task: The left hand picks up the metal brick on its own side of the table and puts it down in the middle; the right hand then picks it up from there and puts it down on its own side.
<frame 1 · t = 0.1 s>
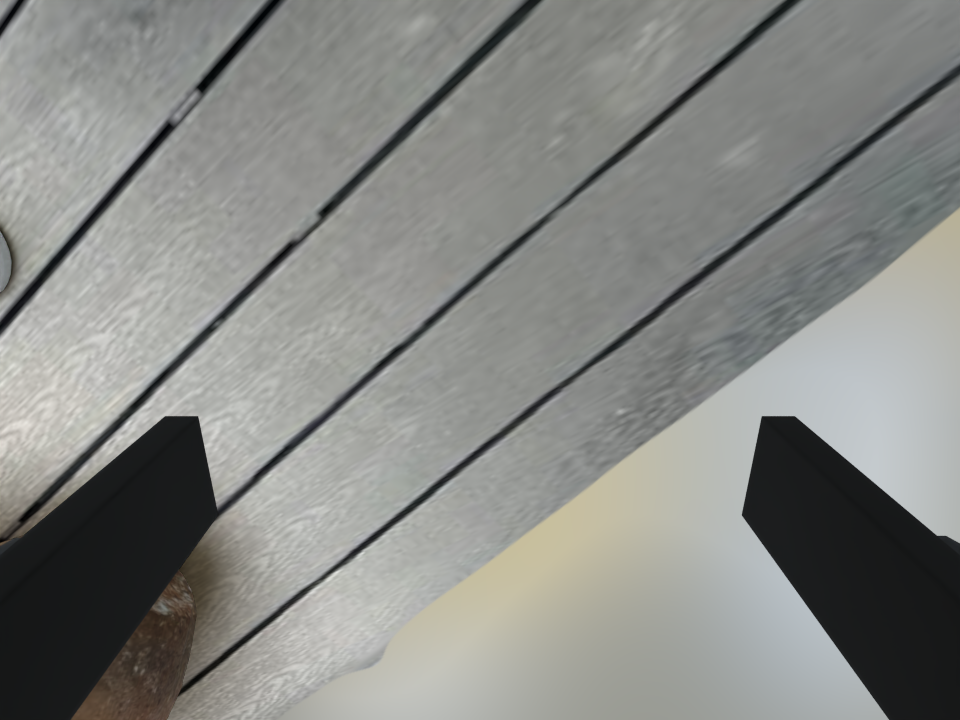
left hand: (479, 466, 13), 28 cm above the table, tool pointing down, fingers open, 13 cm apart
pot: (78, 606, 51), on the table
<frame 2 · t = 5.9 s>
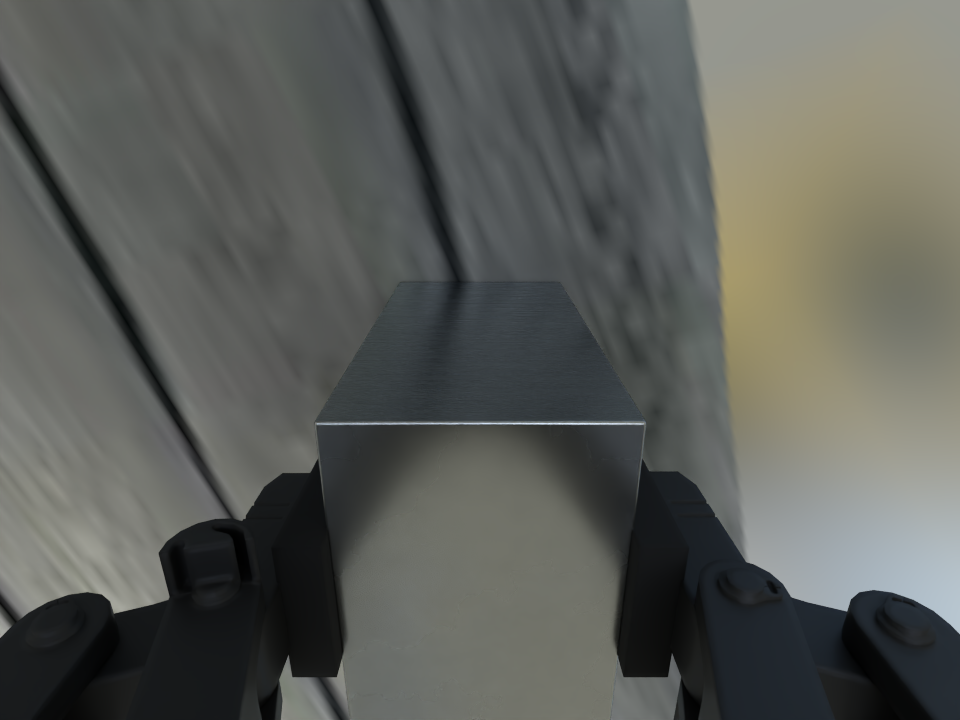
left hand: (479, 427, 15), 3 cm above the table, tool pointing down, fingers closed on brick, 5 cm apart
brick: (480, 380, 18), on the table, touching left hand
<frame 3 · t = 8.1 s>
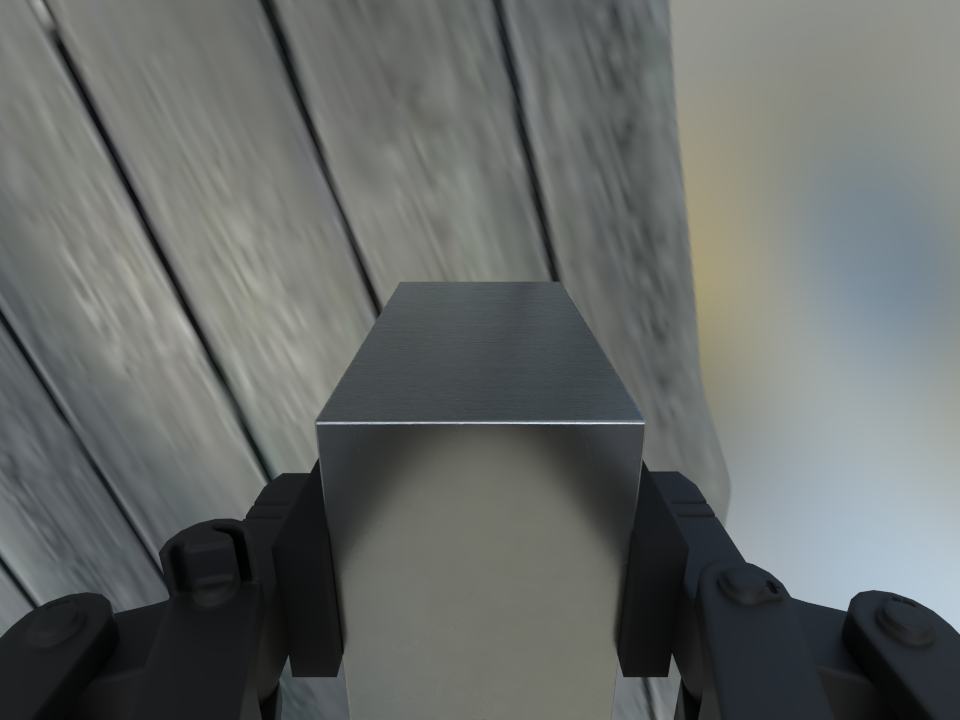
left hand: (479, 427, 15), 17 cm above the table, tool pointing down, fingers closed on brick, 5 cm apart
brick: (480, 380, 18), point 14 cm above the table, touching left hand
when the left hand's fingers open (5 cm above the table, at t = 10.3 s): brick drops 2 cm, on the table.
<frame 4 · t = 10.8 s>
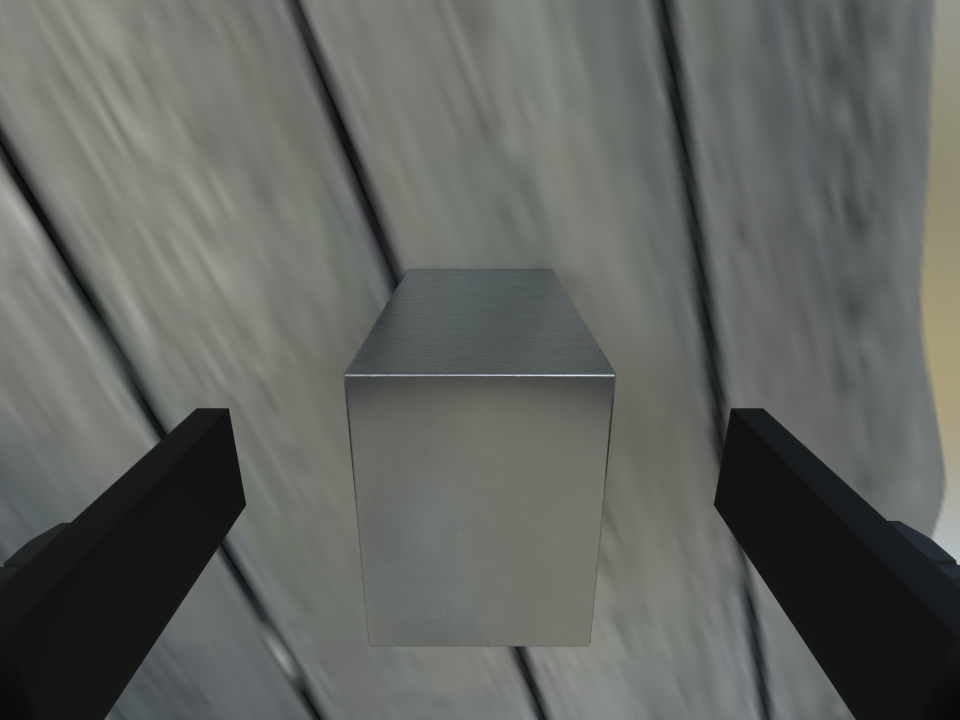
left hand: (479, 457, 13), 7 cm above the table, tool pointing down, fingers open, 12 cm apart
brick: (479, 360, 20), on the table
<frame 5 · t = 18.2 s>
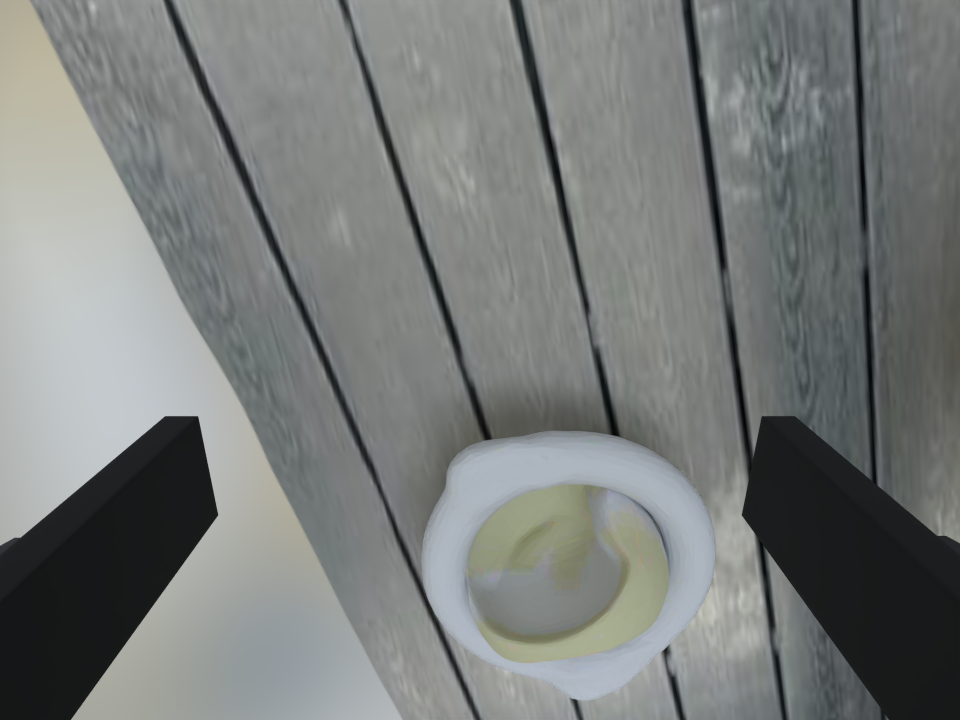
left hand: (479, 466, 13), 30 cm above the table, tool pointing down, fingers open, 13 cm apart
hat: (553, 501, 48), on the table
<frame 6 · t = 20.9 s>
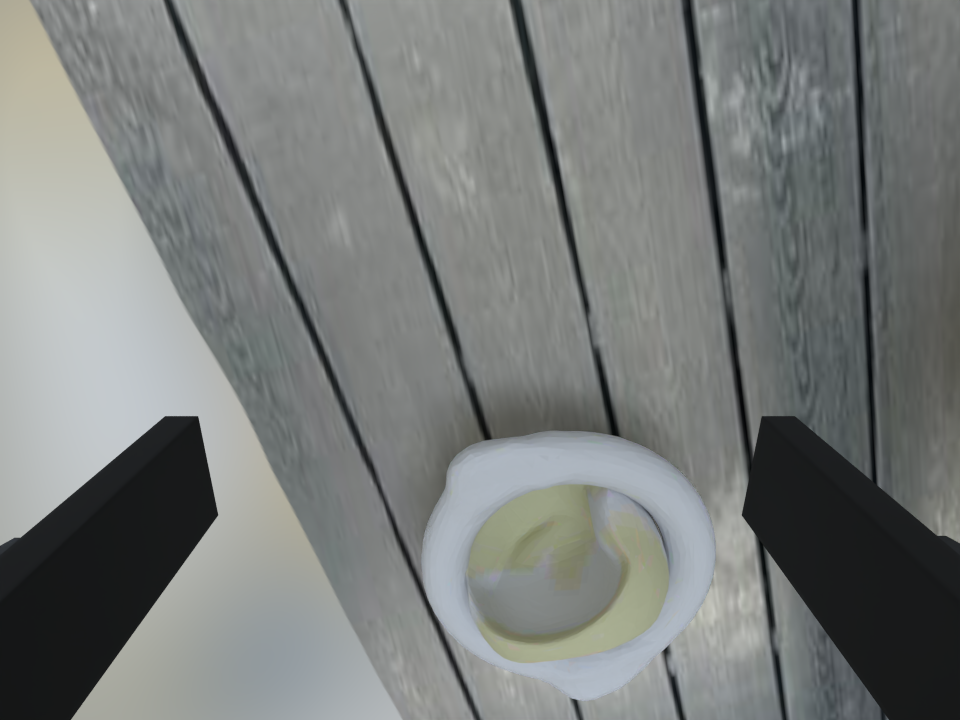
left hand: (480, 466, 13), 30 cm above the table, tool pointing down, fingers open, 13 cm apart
hat: (553, 501, 48), on the table
when the right hand's fingers open (6 cm above the table, at t = 23.6 s): brick drops 2 cm, on the table.
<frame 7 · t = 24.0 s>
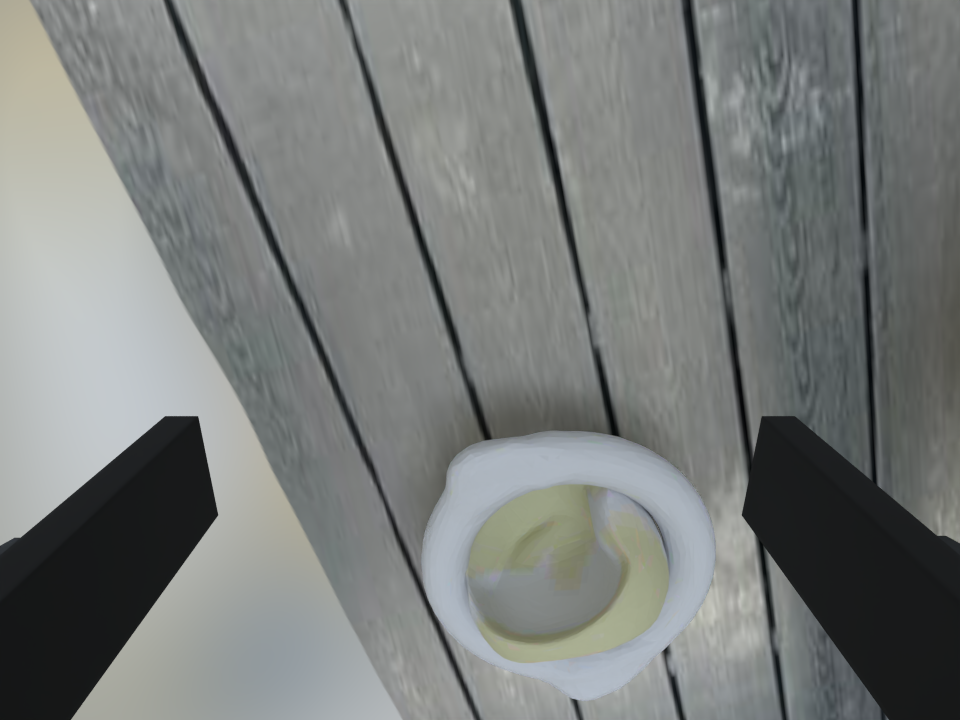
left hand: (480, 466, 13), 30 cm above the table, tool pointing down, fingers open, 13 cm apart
hat: (553, 501, 48), on the table
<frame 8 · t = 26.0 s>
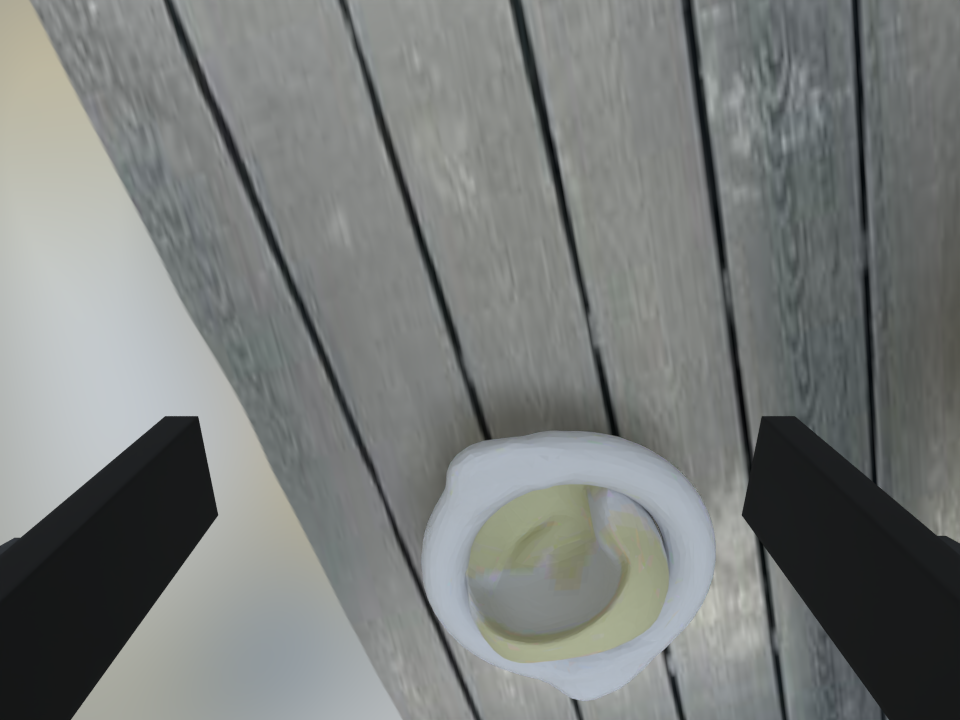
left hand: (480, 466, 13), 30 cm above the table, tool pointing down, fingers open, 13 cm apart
hat: (553, 501, 48), on the table
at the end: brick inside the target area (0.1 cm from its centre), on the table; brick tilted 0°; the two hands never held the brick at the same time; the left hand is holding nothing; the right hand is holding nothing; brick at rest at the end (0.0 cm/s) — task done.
